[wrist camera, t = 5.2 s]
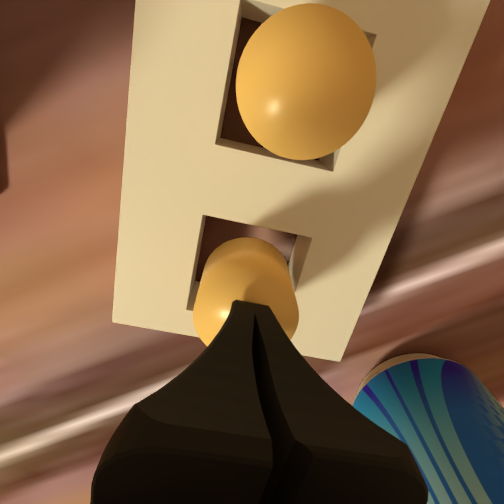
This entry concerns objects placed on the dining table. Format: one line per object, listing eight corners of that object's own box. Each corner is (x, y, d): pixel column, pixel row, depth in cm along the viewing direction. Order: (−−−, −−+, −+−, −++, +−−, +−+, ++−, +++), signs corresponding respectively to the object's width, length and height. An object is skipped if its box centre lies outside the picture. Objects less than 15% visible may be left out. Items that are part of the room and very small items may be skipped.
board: (130, 291, 20) (112, 321, 17) (194, -374, 10) (176, -547, 8) (327, 327, 21) (340, 361, 18) (542, -240, 12) (635, -349, 9)
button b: (229, 135, 13) (223, 143, 10) (251, 15, 12) (252, -16, 9) (326, 157, 14) (349, 172, 11) (360, 45, 12) (398, 25, 9)
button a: (197, 305, 16) (185, 350, 13) (211, 229, 15) (202, 260, 12) (277, 320, 17) (283, 367, 14) (299, 247, 15) (312, 282, 12)
